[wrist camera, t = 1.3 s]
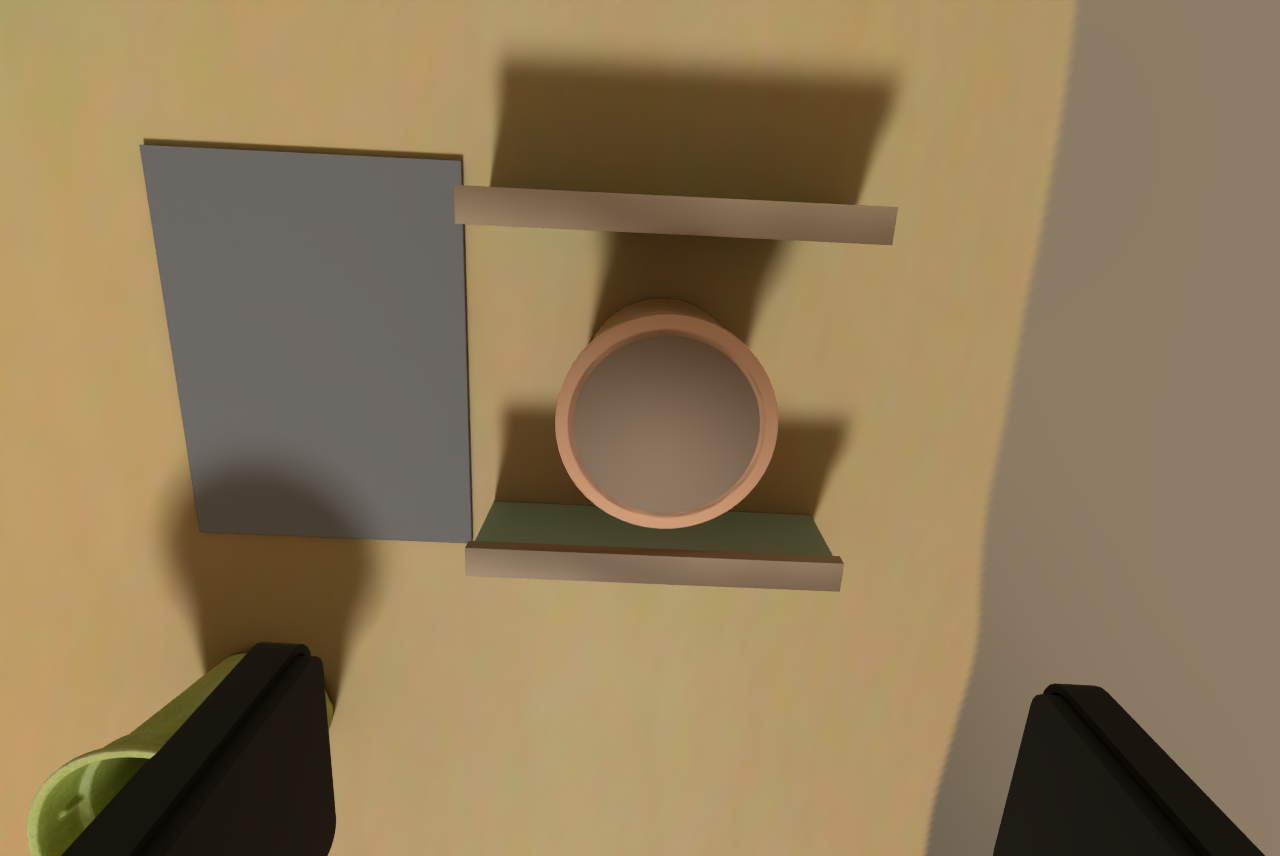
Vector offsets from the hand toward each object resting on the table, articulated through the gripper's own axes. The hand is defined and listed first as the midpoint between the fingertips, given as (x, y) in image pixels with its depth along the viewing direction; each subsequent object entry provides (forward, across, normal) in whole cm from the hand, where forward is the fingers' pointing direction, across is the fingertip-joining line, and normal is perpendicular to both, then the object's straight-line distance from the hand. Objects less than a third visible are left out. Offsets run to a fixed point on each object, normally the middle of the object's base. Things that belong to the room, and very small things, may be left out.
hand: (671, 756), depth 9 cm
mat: (+21, +14, 0) cm, 25 cm away
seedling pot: (+21, 0, 0) cm, 21 cm away
